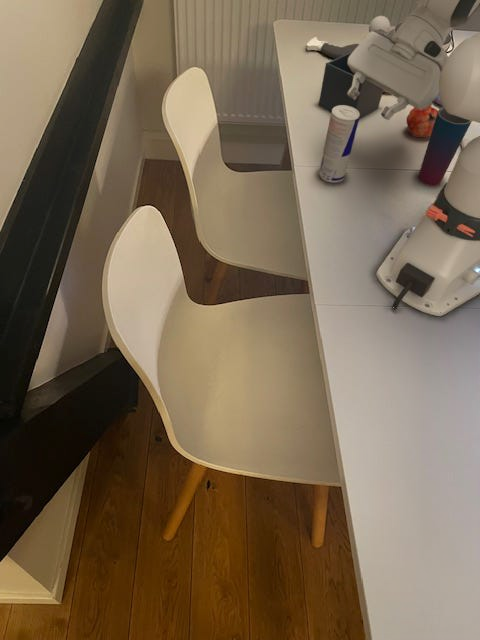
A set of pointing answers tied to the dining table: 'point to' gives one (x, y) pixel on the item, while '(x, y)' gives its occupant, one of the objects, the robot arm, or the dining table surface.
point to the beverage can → (338, 143)
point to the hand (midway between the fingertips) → (367, 107)
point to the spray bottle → (329, 48)
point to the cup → (442, 146)
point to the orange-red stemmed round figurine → (421, 121)
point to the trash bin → (347, 88)
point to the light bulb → (379, 24)
